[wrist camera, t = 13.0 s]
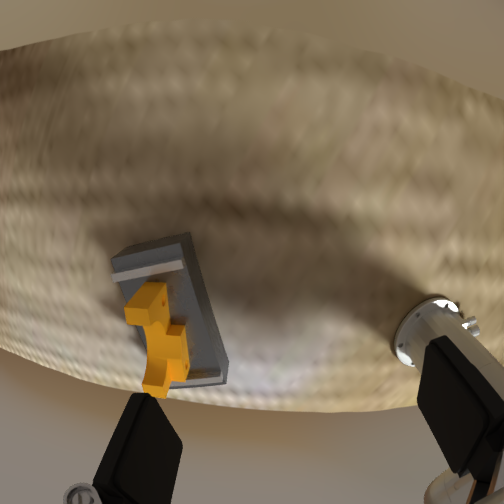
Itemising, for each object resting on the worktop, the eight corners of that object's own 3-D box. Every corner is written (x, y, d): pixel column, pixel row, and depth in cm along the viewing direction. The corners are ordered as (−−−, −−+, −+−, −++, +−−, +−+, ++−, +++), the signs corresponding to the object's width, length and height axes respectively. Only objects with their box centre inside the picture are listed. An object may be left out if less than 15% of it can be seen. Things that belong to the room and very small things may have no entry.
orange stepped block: (190, 366, 36) (180, 400, 30) (158, 363, 36) (144, 395, 30) (180, 283, 33) (165, 310, 27) (145, 281, 33) (123, 307, 27)
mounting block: (189, 232, 36) (177, 246, 30) (229, 362, 42) (225, 390, 36) (126, 246, 37) (106, 262, 31) (173, 368, 43) (163, 394, 37)
